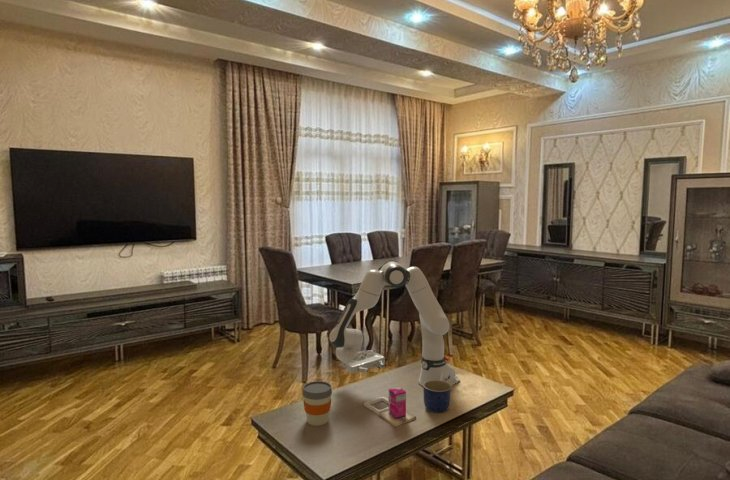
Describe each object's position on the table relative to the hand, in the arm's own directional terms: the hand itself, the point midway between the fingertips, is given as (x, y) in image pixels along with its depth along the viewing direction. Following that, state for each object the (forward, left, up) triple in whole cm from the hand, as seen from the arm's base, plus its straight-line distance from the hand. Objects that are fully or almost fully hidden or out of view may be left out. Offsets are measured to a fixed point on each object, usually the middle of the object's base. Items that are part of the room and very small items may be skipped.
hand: (375, 368), depth 207 cm
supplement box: (0, +17, -16) cm, 23 cm away
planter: (-20, +21, -17) cm, 33 cm away
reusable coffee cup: (+30, -1, -17) cm, 35 cm away
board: (0, +17, -17) cm, 24 cm away
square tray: (0, +5, -17) cm, 17 cm away
